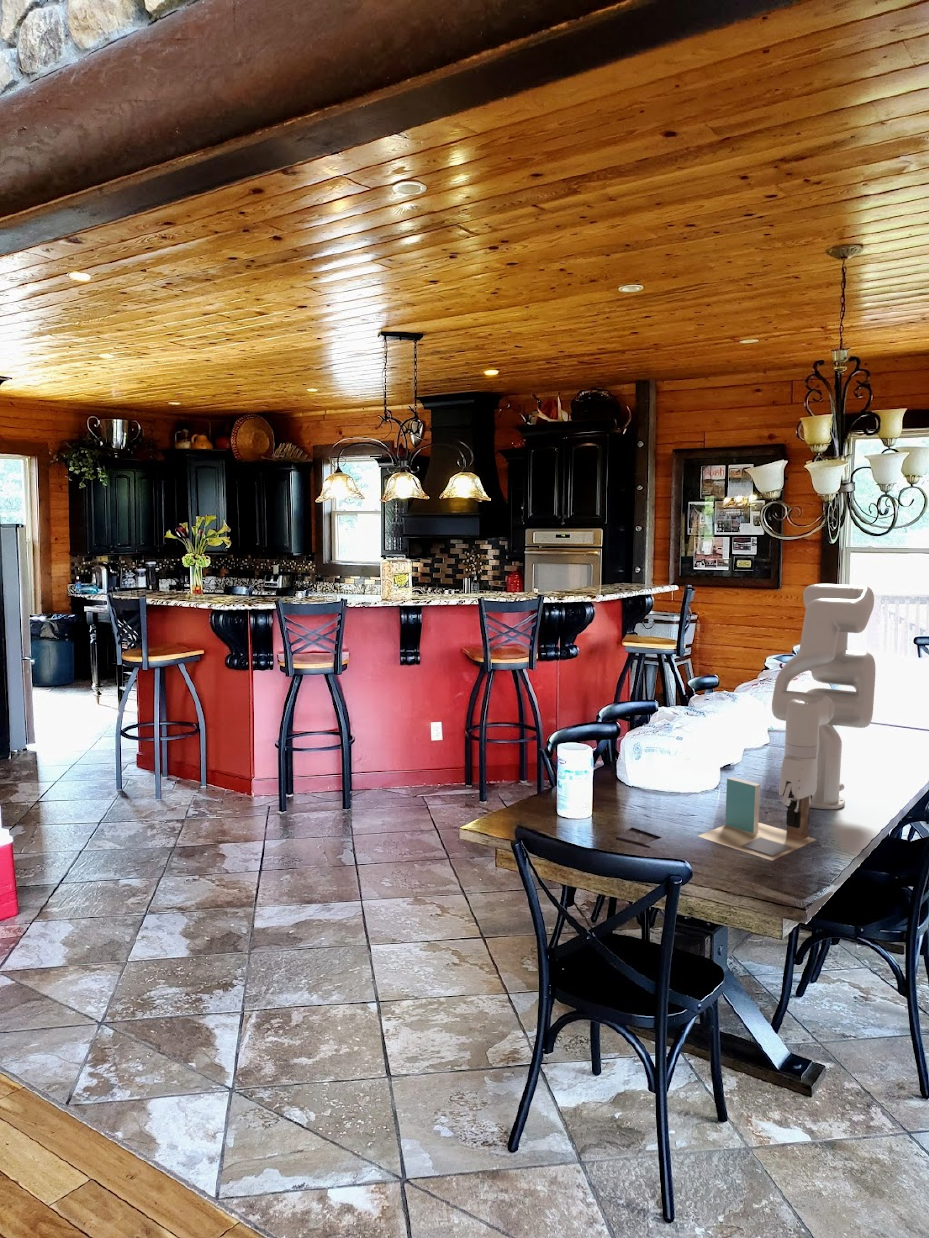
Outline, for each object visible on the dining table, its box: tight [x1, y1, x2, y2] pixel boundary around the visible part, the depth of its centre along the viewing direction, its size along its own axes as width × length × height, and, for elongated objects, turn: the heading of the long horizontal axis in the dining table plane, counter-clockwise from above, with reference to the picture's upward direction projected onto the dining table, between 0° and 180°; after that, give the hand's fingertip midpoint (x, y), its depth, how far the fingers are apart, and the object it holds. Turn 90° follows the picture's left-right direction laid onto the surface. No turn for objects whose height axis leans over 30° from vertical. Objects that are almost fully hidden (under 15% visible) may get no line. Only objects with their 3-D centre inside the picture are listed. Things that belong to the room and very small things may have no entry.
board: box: [697, 822, 817, 861], centre depth 219 cm, size 20×20×1 cm
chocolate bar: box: [615, 827, 663, 848], centre depth 226 cm, size 9×1×18 cm
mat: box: [742, 837, 791, 857], centre depth 213 cm, size 8×8×1 cm
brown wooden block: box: [786, 795, 810, 841], centre depth 219 cm, size 4×4×12 cm
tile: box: [724, 776, 761, 834], centre depth 225 cm, size 2×8×12 cm, turn 41°
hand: (797, 823), depth 220 cm, fingers closed on brown wooden block, 3 cm apart
